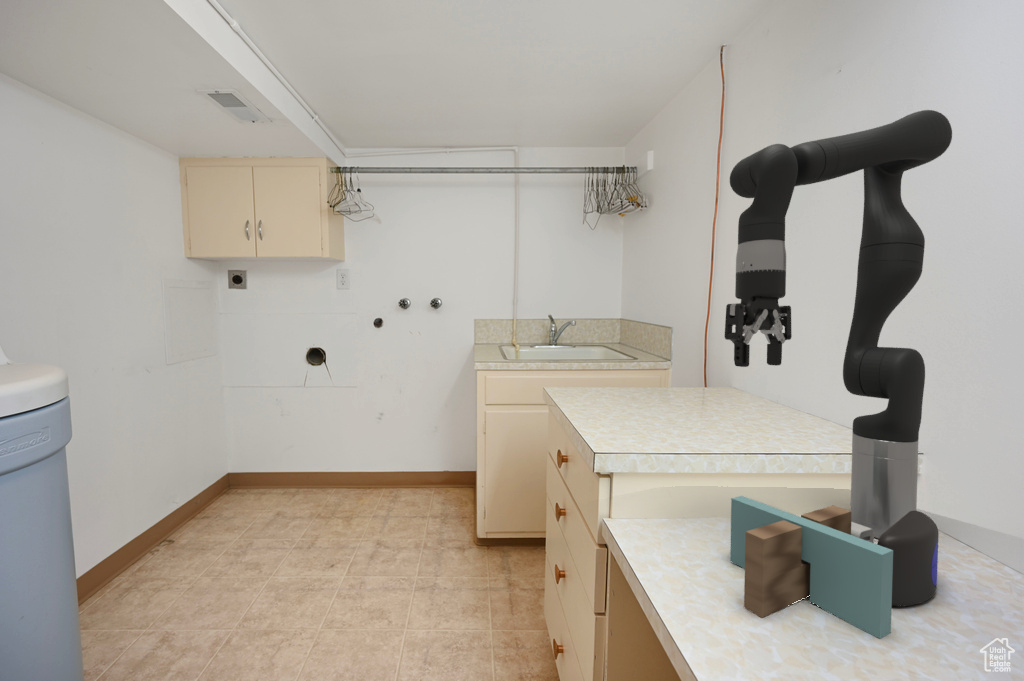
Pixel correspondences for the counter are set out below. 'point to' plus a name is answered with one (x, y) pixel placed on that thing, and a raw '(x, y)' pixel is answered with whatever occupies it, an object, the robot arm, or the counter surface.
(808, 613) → the counter surface
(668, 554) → the counter surface
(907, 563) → the black rounded block
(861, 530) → the usb wall charger
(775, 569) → the brown flat u-shaped block
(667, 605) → the counter surface
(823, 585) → the teal plate
